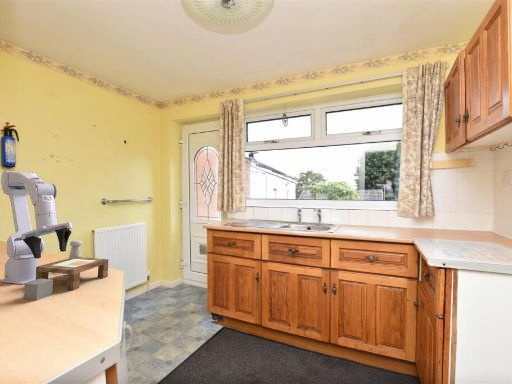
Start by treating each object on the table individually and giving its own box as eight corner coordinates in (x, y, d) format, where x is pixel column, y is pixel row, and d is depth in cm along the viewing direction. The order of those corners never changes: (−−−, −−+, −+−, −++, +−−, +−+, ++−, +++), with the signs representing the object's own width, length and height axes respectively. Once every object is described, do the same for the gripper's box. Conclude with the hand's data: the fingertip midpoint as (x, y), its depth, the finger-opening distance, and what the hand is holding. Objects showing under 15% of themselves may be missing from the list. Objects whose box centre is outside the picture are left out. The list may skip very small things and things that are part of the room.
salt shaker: (74, 272, 107) (75, 241, 108) (63, 271, 109) (64, 240, 109) (85, 268, 113) (87, 239, 113) (75, 267, 114) (76, 238, 114)
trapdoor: (51, 267, 93) (51, 264, 93) (74, 261, 103) (75, 258, 103) (74, 270, 91) (74, 267, 91) (96, 263, 101) (96, 260, 101)
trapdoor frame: (35, 286, 90) (36, 266, 91) (74, 273, 106) (75, 256, 106) (73, 290, 88) (74, 270, 88) (107, 276, 103) (108, 259, 104)
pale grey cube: (23, 299, 80) (24, 283, 80) (39, 293, 85) (40, 278, 85) (36, 300, 79) (37, 284, 79) (52, 294, 84) (53, 279, 84)
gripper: (13, 220, 82) (16, 261, 79) (62, 208, 85) (67, 247, 82) (28, 223, 89) (32, 261, 86) (73, 212, 92) (78, 248, 89)
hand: (50, 254), depth 84 cm, fingers open, 7 cm apart
